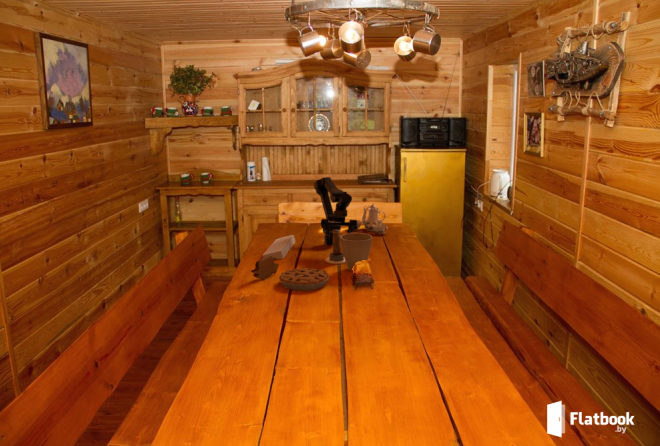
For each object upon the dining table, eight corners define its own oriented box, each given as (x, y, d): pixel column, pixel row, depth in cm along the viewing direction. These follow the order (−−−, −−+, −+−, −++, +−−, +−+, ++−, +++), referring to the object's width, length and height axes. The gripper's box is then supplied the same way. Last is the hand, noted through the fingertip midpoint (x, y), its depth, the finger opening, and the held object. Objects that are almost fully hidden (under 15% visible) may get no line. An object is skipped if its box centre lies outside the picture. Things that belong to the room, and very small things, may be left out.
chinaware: (344, 233, 344) (342, 207, 339) (357, 225, 357) (356, 200, 352) (385, 239, 329) (384, 211, 324) (397, 230, 343) (396, 204, 338)
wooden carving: (271, 272, 262) (271, 251, 260) (279, 273, 260) (279, 253, 258) (249, 282, 248) (248, 260, 246) (257, 283, 246) (257, 262, 244)
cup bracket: (327, 257, 286) (327, 250, 285) (348, 258, 285) (348, 251, 284) (324, 263, 275) (324, 256, 275) (346, 264, 274) (346, 257, 273)
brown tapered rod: (338, 258, 282) (338, 229, 279) (341, 259, 279) (341, 230, 276) (331, 259, 281) (331, 229, 278) (334, 260, 278) (334, 231, 274)
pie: (293, 273, 260) (293, 263, 259) (336, 279, 252) (336, 268, 251) (270, 288, 241) (269, 277, 240) (316, 295, 232) (316, 283, 231)
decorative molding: (265, 264, 285) (283, 259, 284) (262, 255, 285) (280, 250, 283) (279, 246, 318) (295, 242, 317) (276, 238, 318) (293, 234, 316)
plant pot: (334, 268, 267) (333, 236, 264) (358, 262, 276) (358, 231, 273) (354, 276, 256) (354, 242, 252) (378, 270, 264) (378, 237, 261)
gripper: (321, 203, 287) (317, 229, 279) (357, 204, 285) (355, 230, 277) (323, 215, 297) (320, 240, 289) (358, 216, 294) (356, 242, 286)
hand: (337, 238), depth 285 cm, fingers open, 9 cm apart
